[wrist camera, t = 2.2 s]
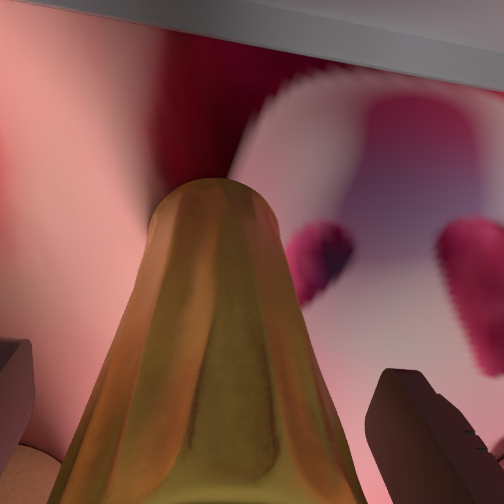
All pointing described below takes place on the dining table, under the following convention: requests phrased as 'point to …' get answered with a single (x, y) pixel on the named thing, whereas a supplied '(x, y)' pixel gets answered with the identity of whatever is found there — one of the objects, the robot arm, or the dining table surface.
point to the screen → (339, 30)
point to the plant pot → (28, 477)
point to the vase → (210, 373)
